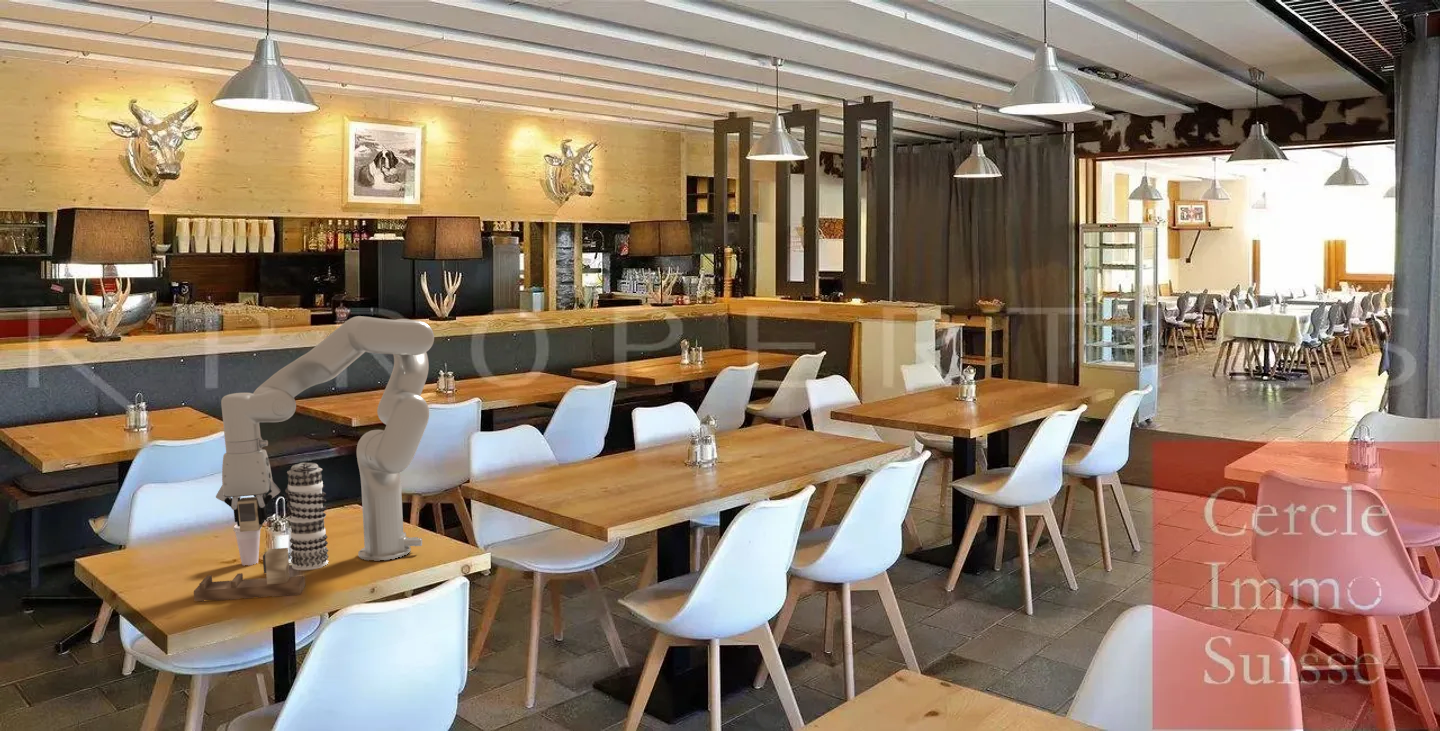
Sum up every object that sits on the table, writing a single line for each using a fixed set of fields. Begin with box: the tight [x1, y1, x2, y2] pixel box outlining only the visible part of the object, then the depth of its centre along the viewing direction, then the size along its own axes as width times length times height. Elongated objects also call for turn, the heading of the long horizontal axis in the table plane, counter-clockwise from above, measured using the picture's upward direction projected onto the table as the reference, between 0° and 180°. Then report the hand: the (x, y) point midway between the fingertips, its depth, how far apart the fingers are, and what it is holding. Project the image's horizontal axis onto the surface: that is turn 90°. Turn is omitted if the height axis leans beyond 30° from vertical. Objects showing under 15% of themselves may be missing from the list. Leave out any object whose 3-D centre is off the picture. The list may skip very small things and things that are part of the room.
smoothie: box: [233, 524, 263, 566], centre depth 261 cm, size 6×6×14 cm
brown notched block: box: [193, 547, 306, 602], centre depth 238 cm, size 22×6×10 cm, turn 101°
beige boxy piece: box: [237, 496, 264, 532], centre depth 246 cm, size 5×4×7 cm
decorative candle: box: [284, 462, 329, 571], centre depth 258 cm, size 9×9×25 cm
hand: (251, 523), depth 247 cm, fingers closed on beige boxy piece, 4 cm apart
